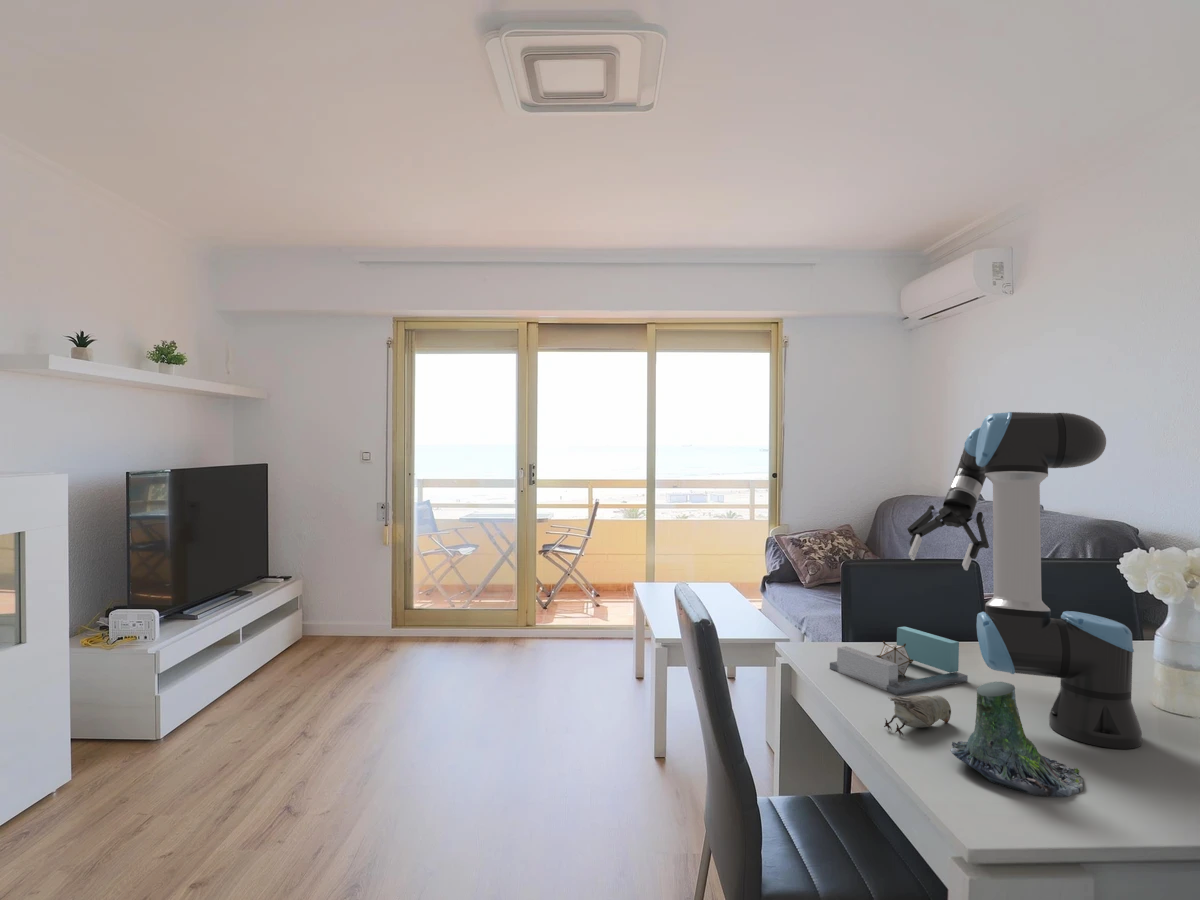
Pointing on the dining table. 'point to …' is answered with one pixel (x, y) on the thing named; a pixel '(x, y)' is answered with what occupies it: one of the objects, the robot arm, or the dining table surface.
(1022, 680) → the dining table surface
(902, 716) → the decorative bird
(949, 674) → the vise base
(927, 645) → the sliding jaw
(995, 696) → the tree stump
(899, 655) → the game die
